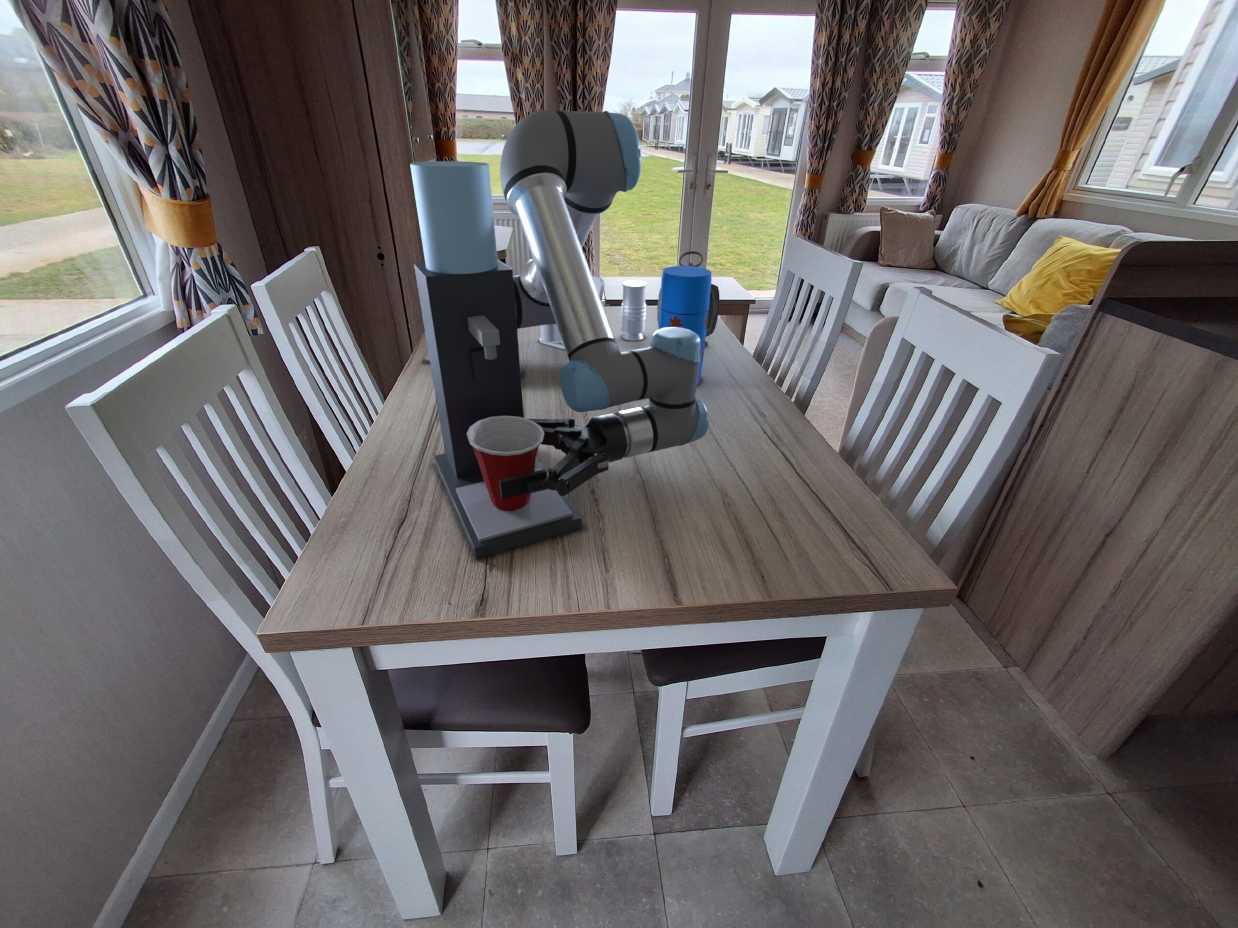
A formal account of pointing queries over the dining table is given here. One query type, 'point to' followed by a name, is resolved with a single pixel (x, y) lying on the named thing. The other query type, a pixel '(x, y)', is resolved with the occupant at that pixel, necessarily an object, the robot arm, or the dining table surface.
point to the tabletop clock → (713, 301)
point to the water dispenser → (474, 350)
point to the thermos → (686, 301)
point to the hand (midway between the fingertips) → (486, 465)
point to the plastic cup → (505, 454)
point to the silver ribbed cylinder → (633, 309)
